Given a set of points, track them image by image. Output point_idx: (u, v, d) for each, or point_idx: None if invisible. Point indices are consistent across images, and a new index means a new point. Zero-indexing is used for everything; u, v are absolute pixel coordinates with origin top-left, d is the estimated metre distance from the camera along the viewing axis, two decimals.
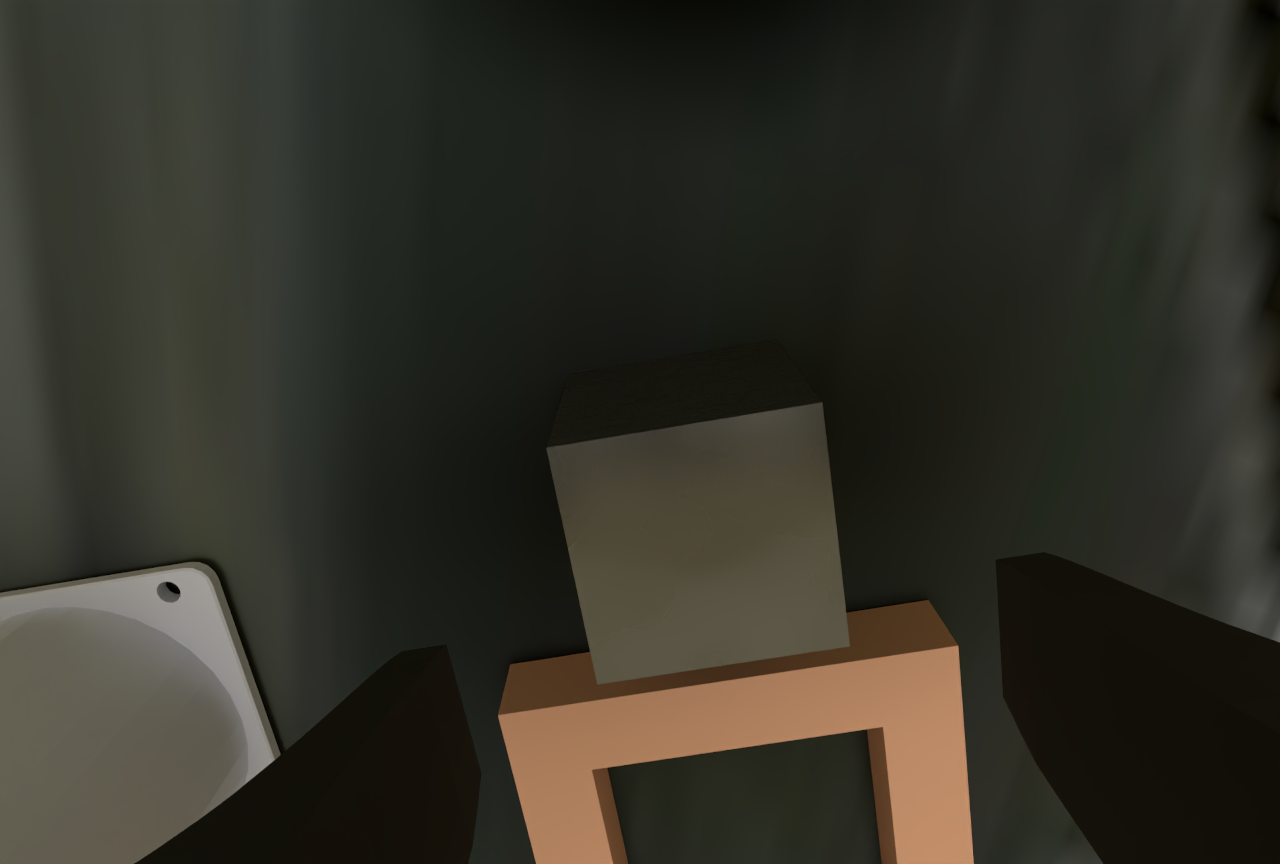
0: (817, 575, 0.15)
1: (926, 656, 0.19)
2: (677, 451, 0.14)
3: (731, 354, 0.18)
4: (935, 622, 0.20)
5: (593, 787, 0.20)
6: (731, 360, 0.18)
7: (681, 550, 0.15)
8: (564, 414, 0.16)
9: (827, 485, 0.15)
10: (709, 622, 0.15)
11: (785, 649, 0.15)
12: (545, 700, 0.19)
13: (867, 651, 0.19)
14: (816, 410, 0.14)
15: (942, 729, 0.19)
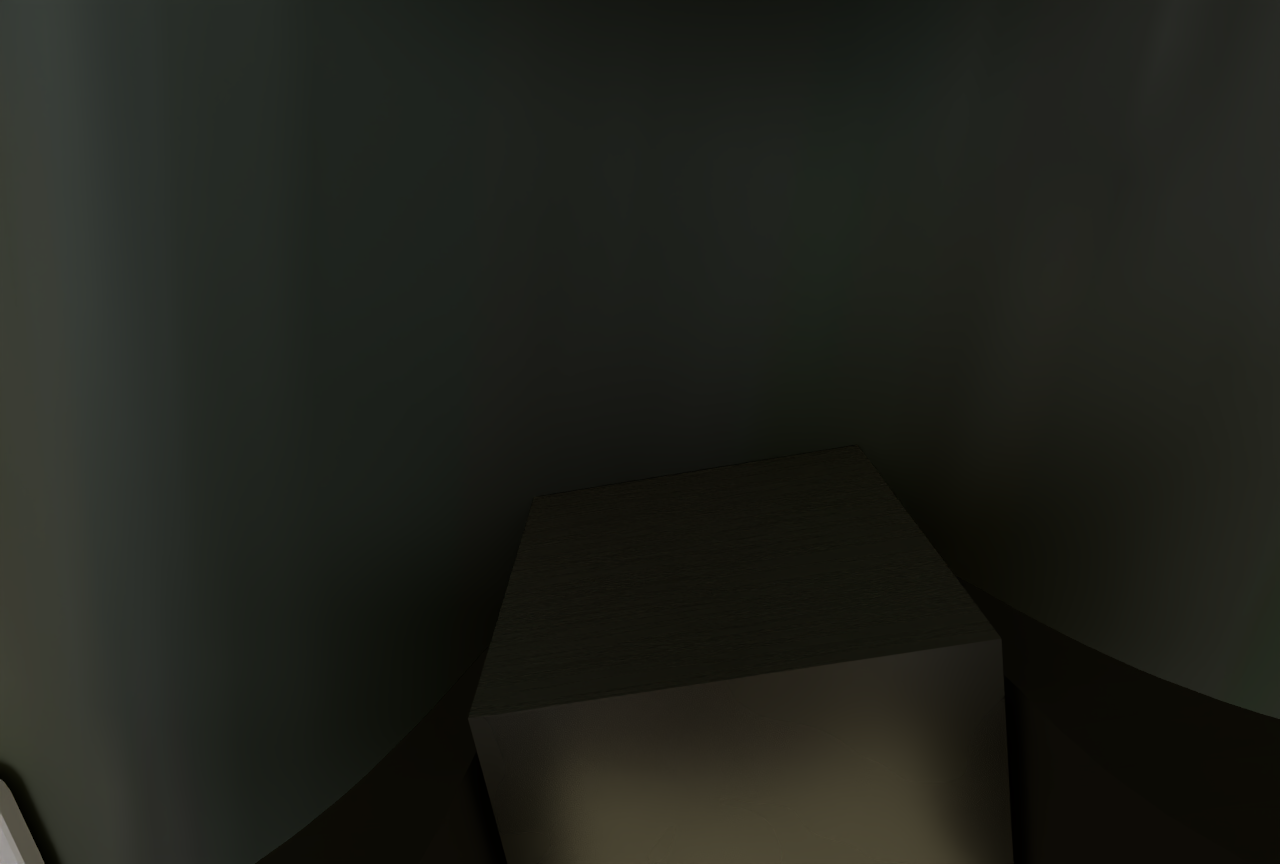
0: None
1: None
2: (719, 723, 0.08)
3: (791, 476, 0.11)
4: None
5: None
6: (794, 491, 0.11)
7: None
8: (514, 609, 0.09)
9: (1000, 781, 0.08)
10: None
11: None
12: None
13: None
14: (988, 651, 0.07)
15: None
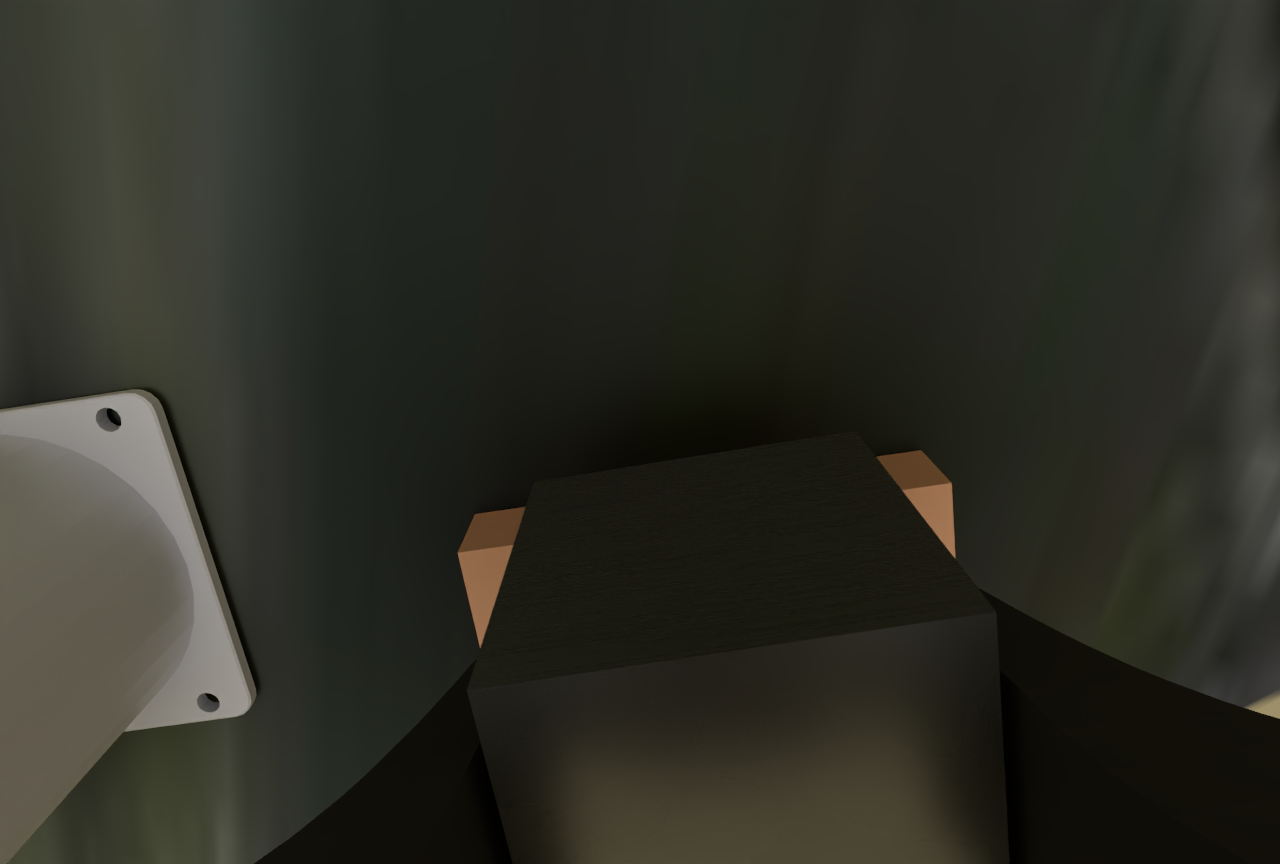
0: None
1: (918, 495, 0.18)
2: (715, 695, 0.08)
3: (789, 460, 0.11)
4: (928, 466, 0.18)
5: None
6: (792, 474, 0.11)
7: (719, 862, 0.08)
8: (513, 587, 0.09)
9: (995, 755, 0.08)
10: None
11: None
12: (508, 539, 0.18)
13: None
14: (983, 625, 0.07)
15: None
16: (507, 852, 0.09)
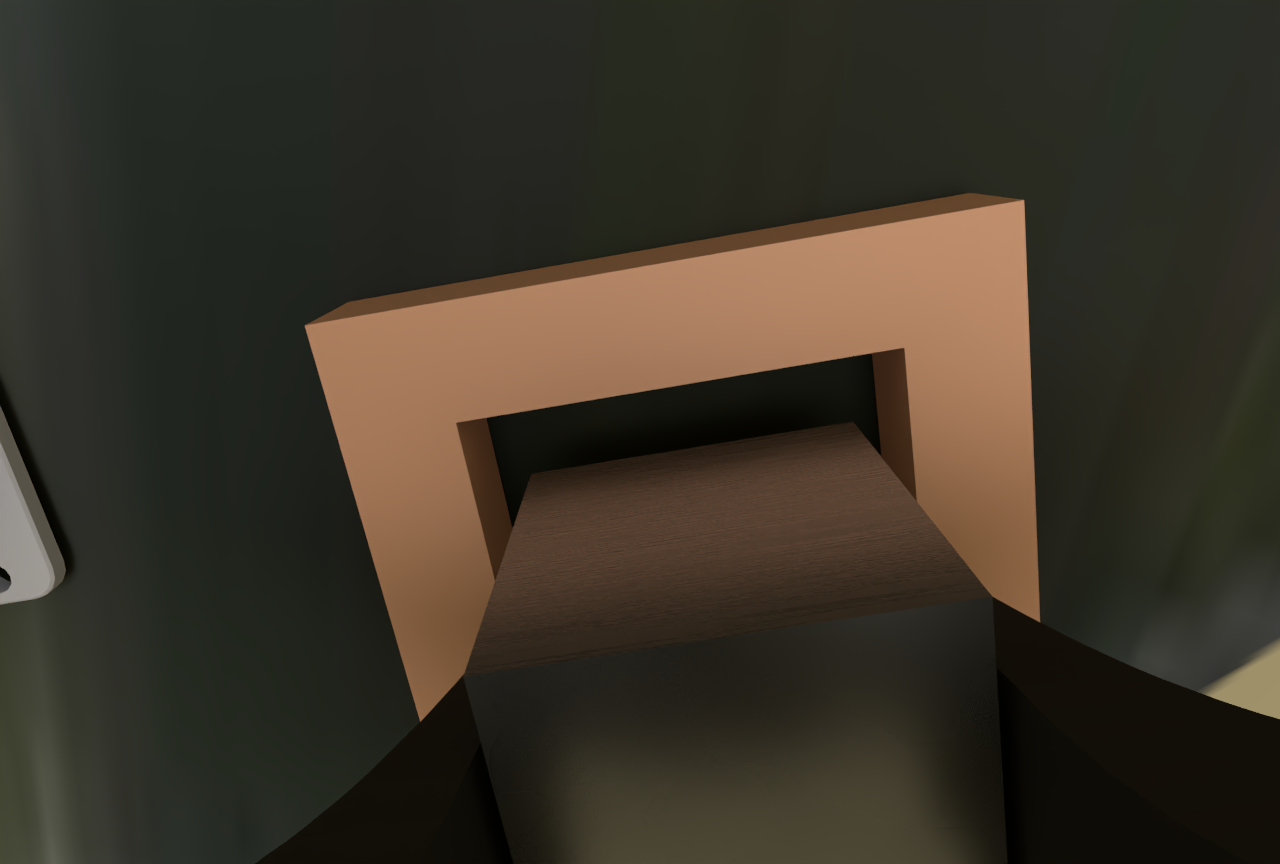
0: None
1: (974, 220, 0.12)
2: (712, 681, 0.08)
3: (787, 450, 0.11)
4: (985, 198, 0.13)
5: (459, 453, 0.13)
6: (789, 464, 0.11)
7: (717, 850, 0.08)
8: (510, 576, 0.09)
9: (992, 741, 0.08)
10: None
11: None
12: (381, 309, 0.13)
13: (880, 222, 0.12)
14: (979, 609, 0.07)
15: (996, 352, 0.13)
16: (507, 852, 0.09)
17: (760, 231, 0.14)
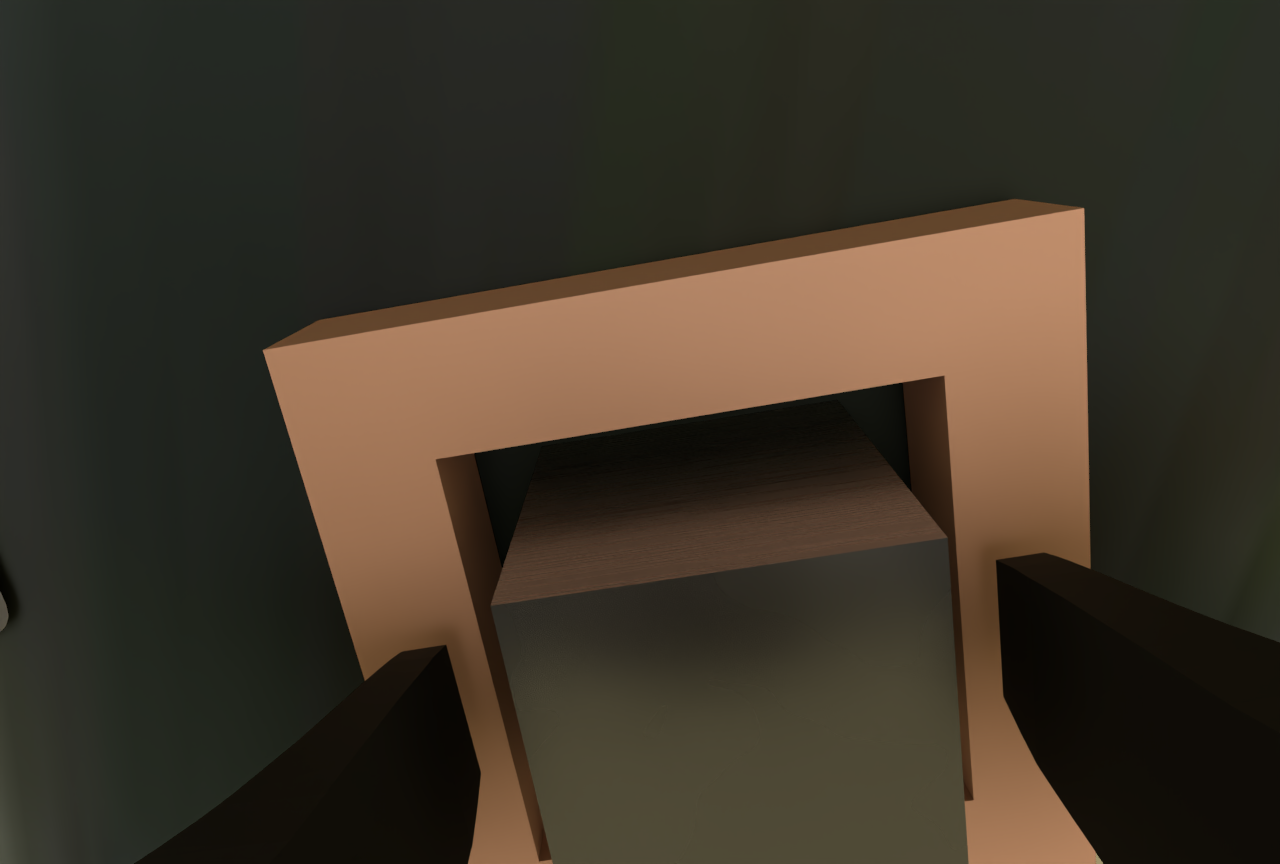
0: (926, 799, 0.09)
1: (1026, 231, 0.10)
2: (706, 611, 0.09)
3: (775, 423, 0.13)
4: (1035, 205, 0.11)
5: (440, 493, 0.11)
6: (777, 435, 0.12)
7: (709, 762, 0.09)
8: (527, 528, 0.10)
9: (948, 666, 0.09)
10: None
11: None
12: (351, 331, 0.11)
13: (918, 233, 0.11)
14: (936, 549, 0.09)
15: (1049, 381, 0.11)
16: None
17: (779, 242, 0.12)
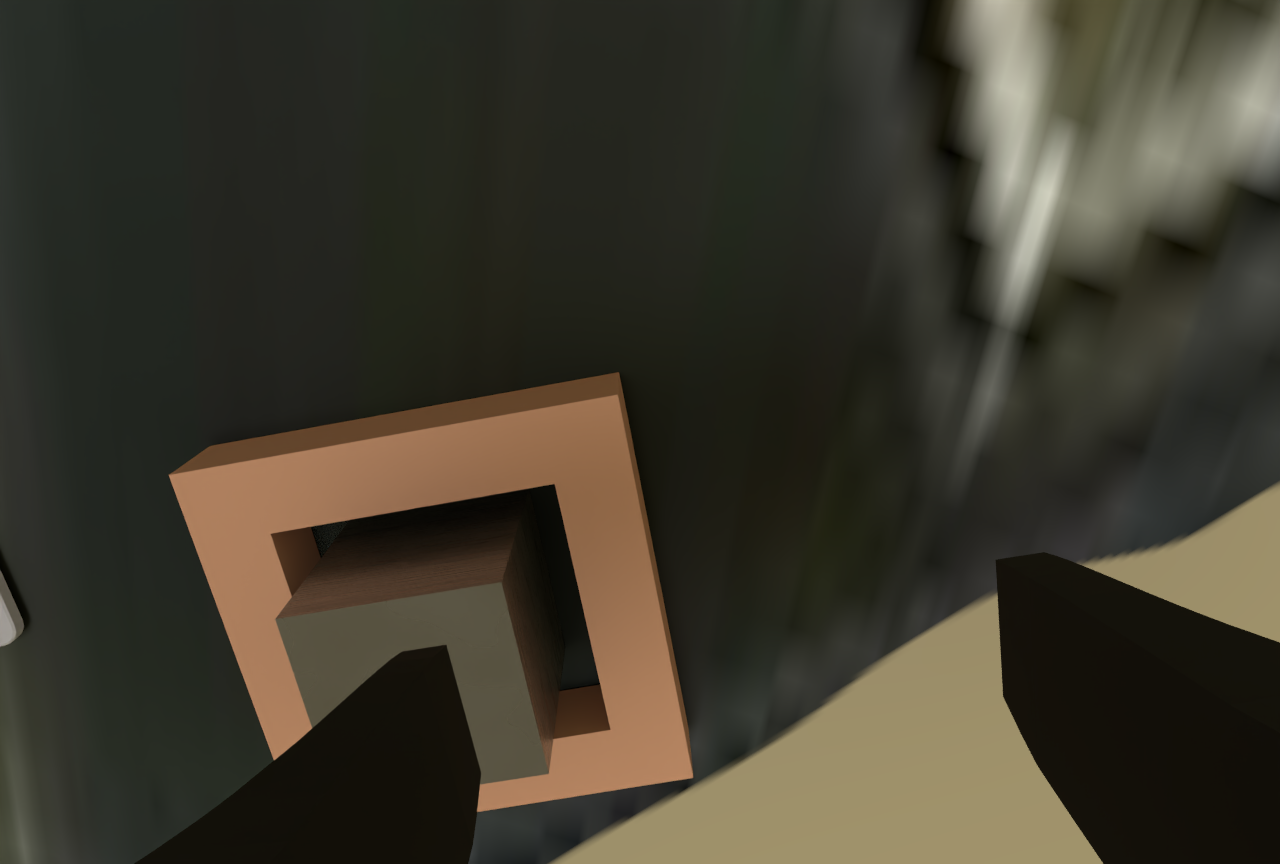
0: (514, 717, 0.18)
1: (588, 407, 0.19)
2: (385, 620, 0.17)
3: (483, 505, 0.21)
4: (611, 383, 0.20)
5: (274, 553, 0.20)
6: (478, 514, 0.21)
7: None
8: (314, 575, 0.19)
9: (514, 646, 0.17)
10: None
11: (494, 777, 0.18)
12: (219, 462, 0.20)
13: (534, 406, 0.19)
14: (497, 587, 0.17)
15: (614, 486, 0.20)
16: None
17: (478, 400, 0.21)
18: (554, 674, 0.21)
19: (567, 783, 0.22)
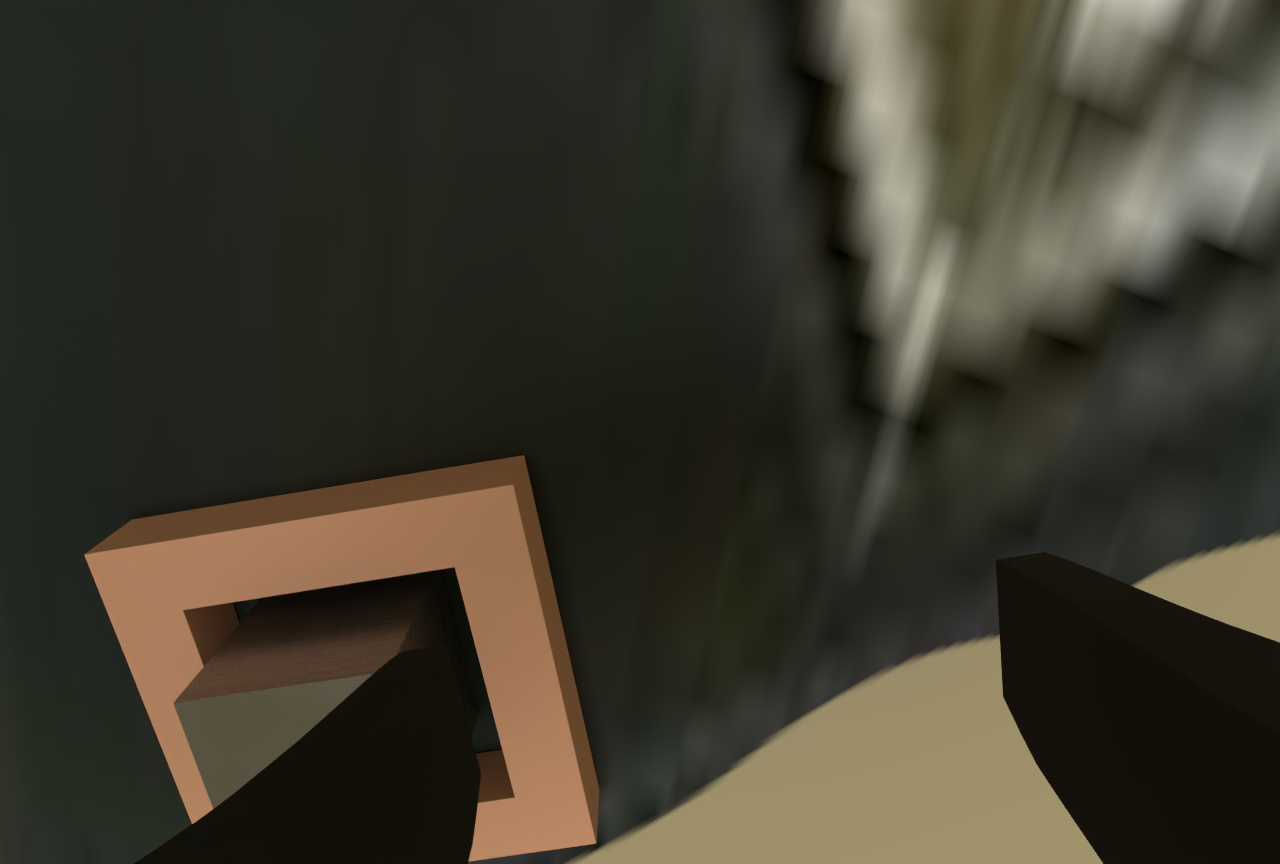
0: None
1: (485, 496, 0.20)
2: (278, 705, 0.18)
3: (394, 580, 0.22)
4: (512, 470, 0.21)
5: (187, 628, 0.21)
6: (386, 590, 0.21)
7: None
8: (220, 653, 0.20)
9: None
10: None
11: None
12: (134, 542, 0.20)
13: (434, 493, 0.20)
14: None
15: (512, 570, 0.20)
16: None
17: (388, 480, 0.21)
18: None
19: (474, 847, 0.23)
